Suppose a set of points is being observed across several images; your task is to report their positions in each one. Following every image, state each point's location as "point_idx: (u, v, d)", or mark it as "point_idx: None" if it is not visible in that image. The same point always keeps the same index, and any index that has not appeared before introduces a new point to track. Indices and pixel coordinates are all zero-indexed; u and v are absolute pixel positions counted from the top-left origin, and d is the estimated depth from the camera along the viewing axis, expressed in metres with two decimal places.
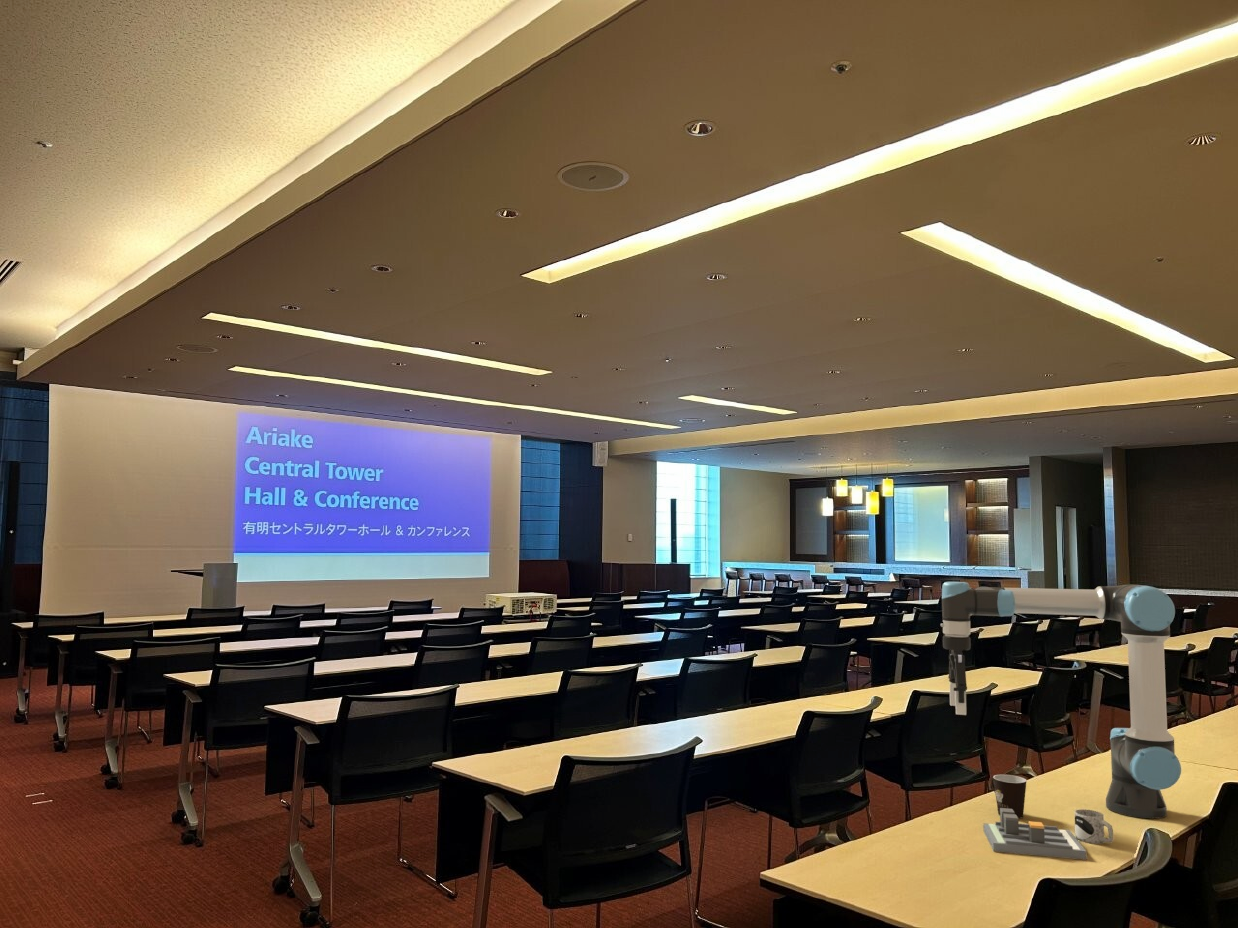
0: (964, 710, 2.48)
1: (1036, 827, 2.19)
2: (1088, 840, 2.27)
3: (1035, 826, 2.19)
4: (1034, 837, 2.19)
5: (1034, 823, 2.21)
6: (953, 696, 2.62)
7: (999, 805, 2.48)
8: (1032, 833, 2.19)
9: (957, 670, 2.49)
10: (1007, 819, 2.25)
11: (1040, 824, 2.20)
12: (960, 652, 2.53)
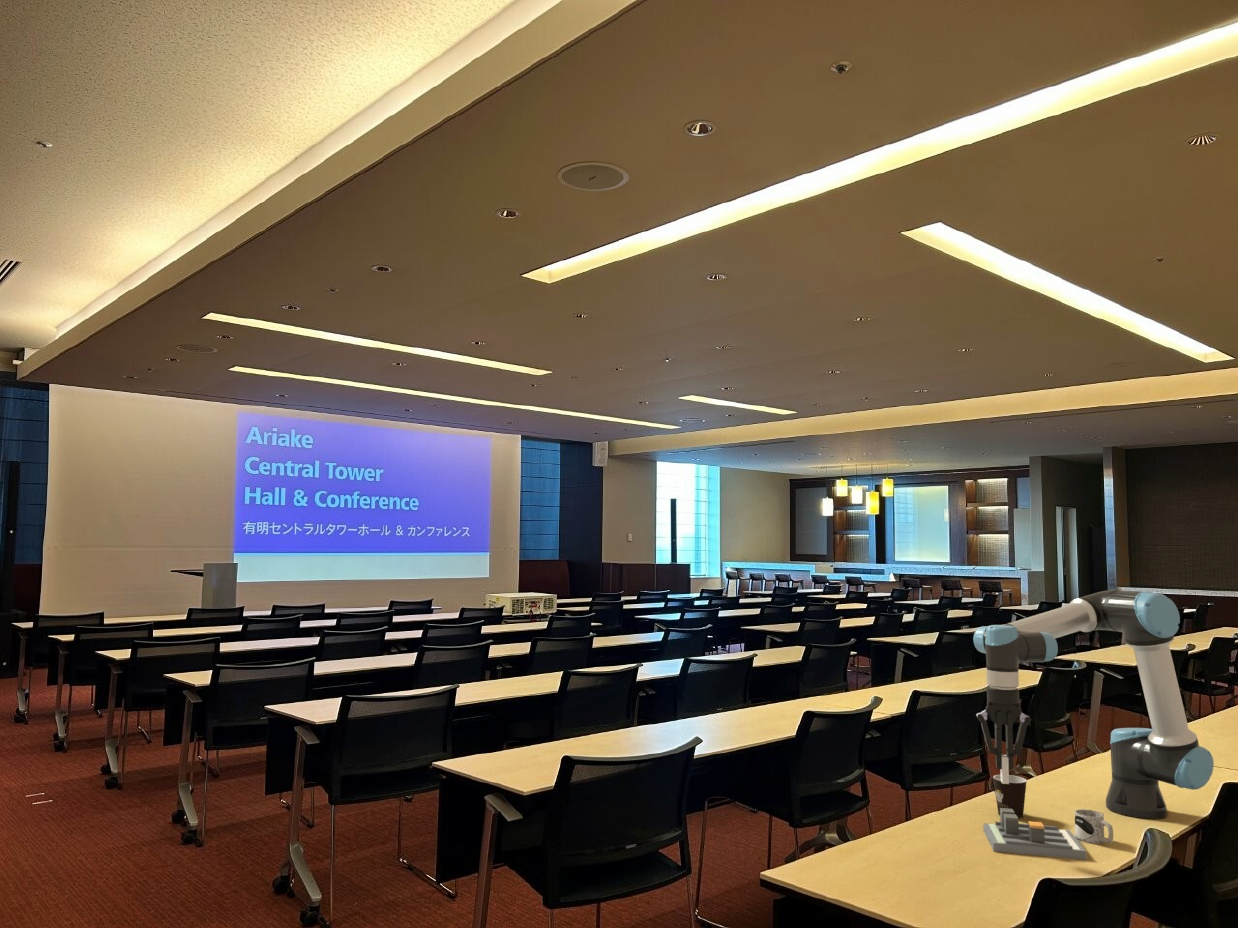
0: (1002, 778, 2.22)
1: (1036, 827, 2.19)
2: (1088, 840, 2.27)
3: (1035, 826, 2.19)
4: (1034, 837, 2.19)
5: (1034, 823, 2.21)
6: None
7: (999, 805, 2.48)
8: (1032, 833, 2.19)
9: (983, 730, 2.26)
10: (1007, 819, 2.25)
11: (1040, 824, 2.20)
12: (987, 704, 2.25)
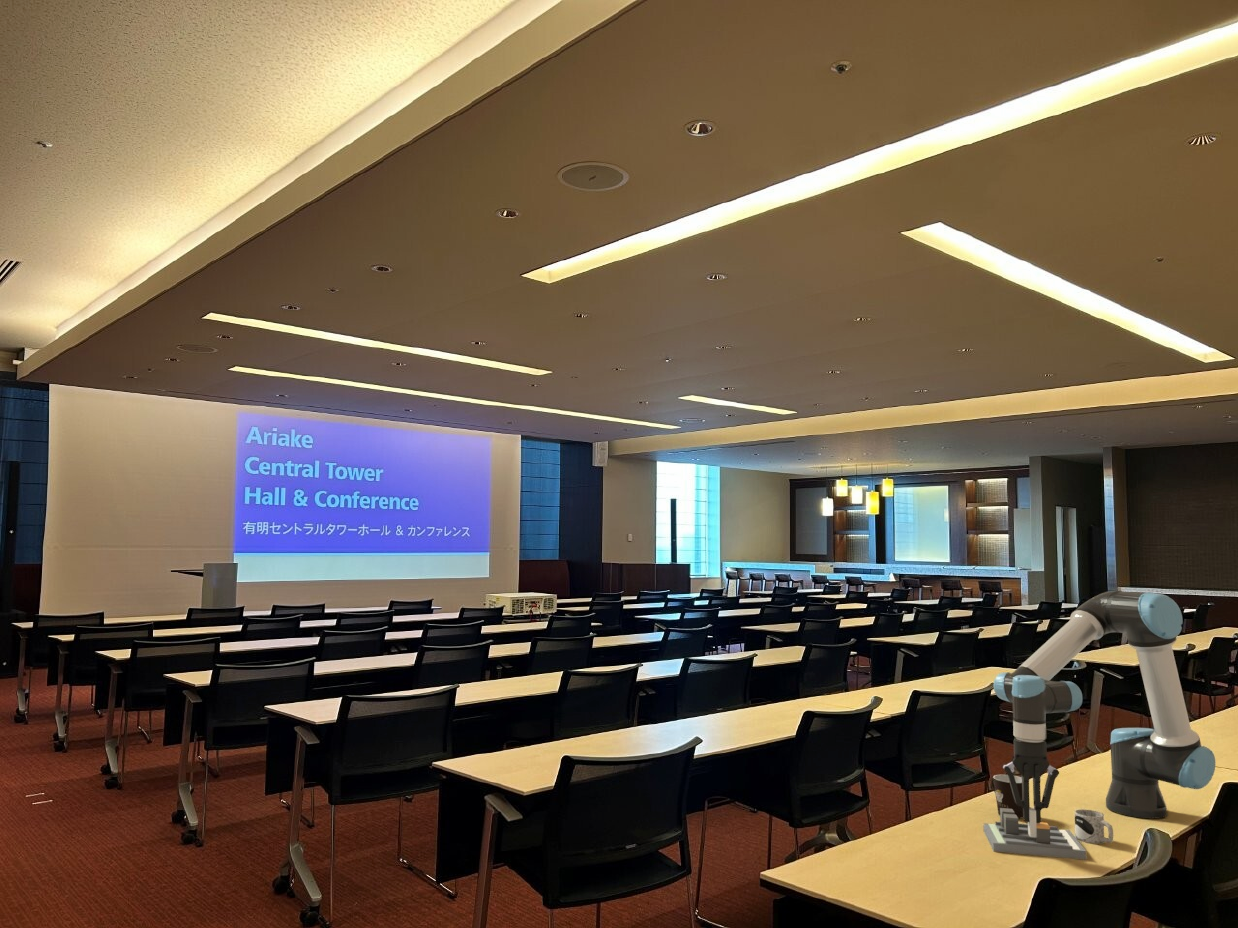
0: (1029, 831, 2.20)
1: (1042, 827, 2.19)
2: (1088, 840, 2.27)
3: (1041, 826, 2.19)
4: (1040, 837, 2.19)
5: (1040, 823, 2.20)
6: None
7: (999, 805, 2.48)
8: (1038, 833, 2.19)
9: None
10: (1007, 819, 2.25)
11: (1046, 824, 2.20)
12: (1014, 756, 2.23)
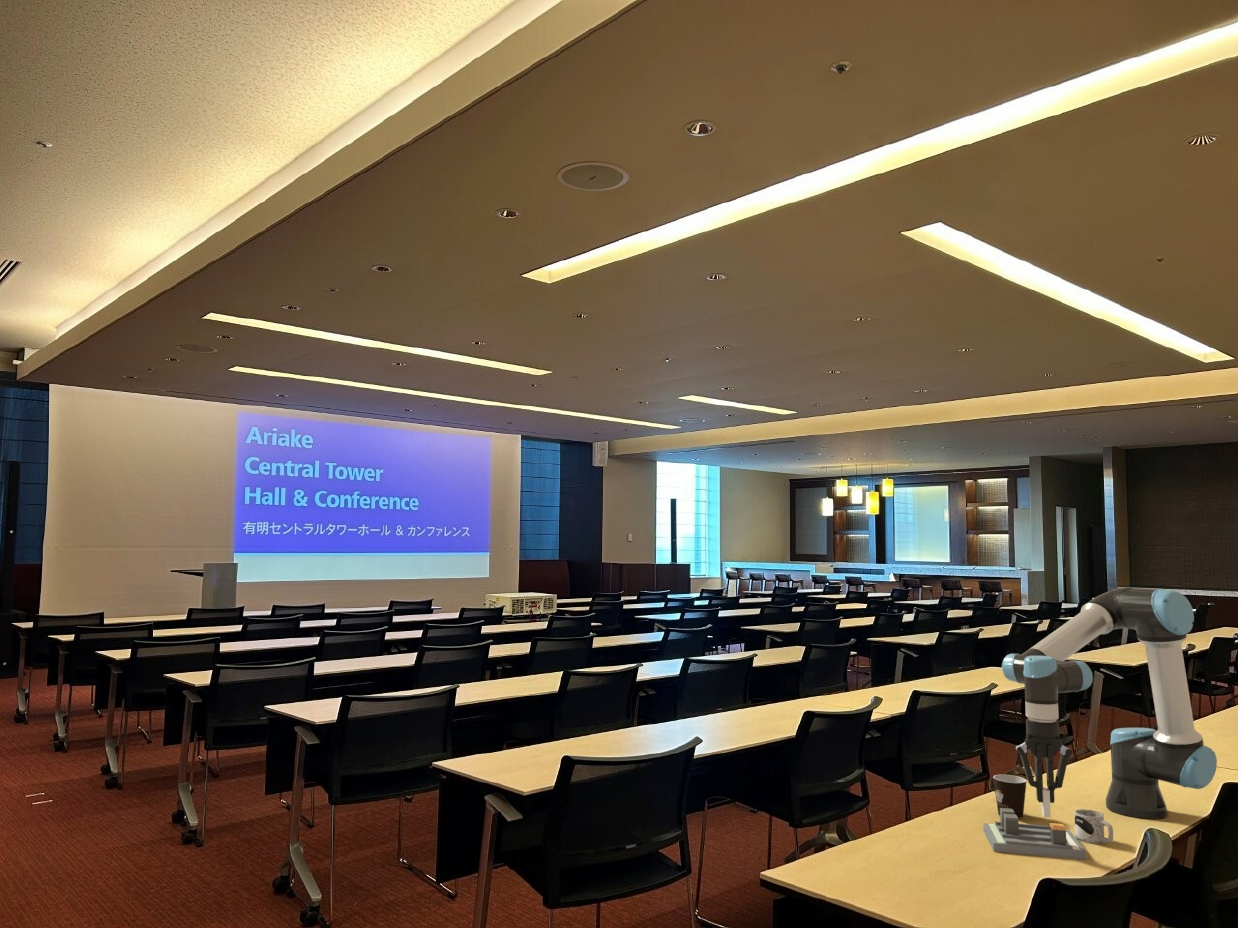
0: (1043, 811, 2.20)
1: (1058, 829, 2.18)
2: (1088, 840, 2.27)
3: (1057, 828, 2.18)
4: (1056, 839, 2.18)
5: (1056, 824, 2.20)
6: None
7: (999, 805, 2.48)
8: (1054, 835, 2.18)
9: None
10: (1007, 819, 2.25)
11: (1062, 826, 2.19)
12: (1027, 736, 2.22)
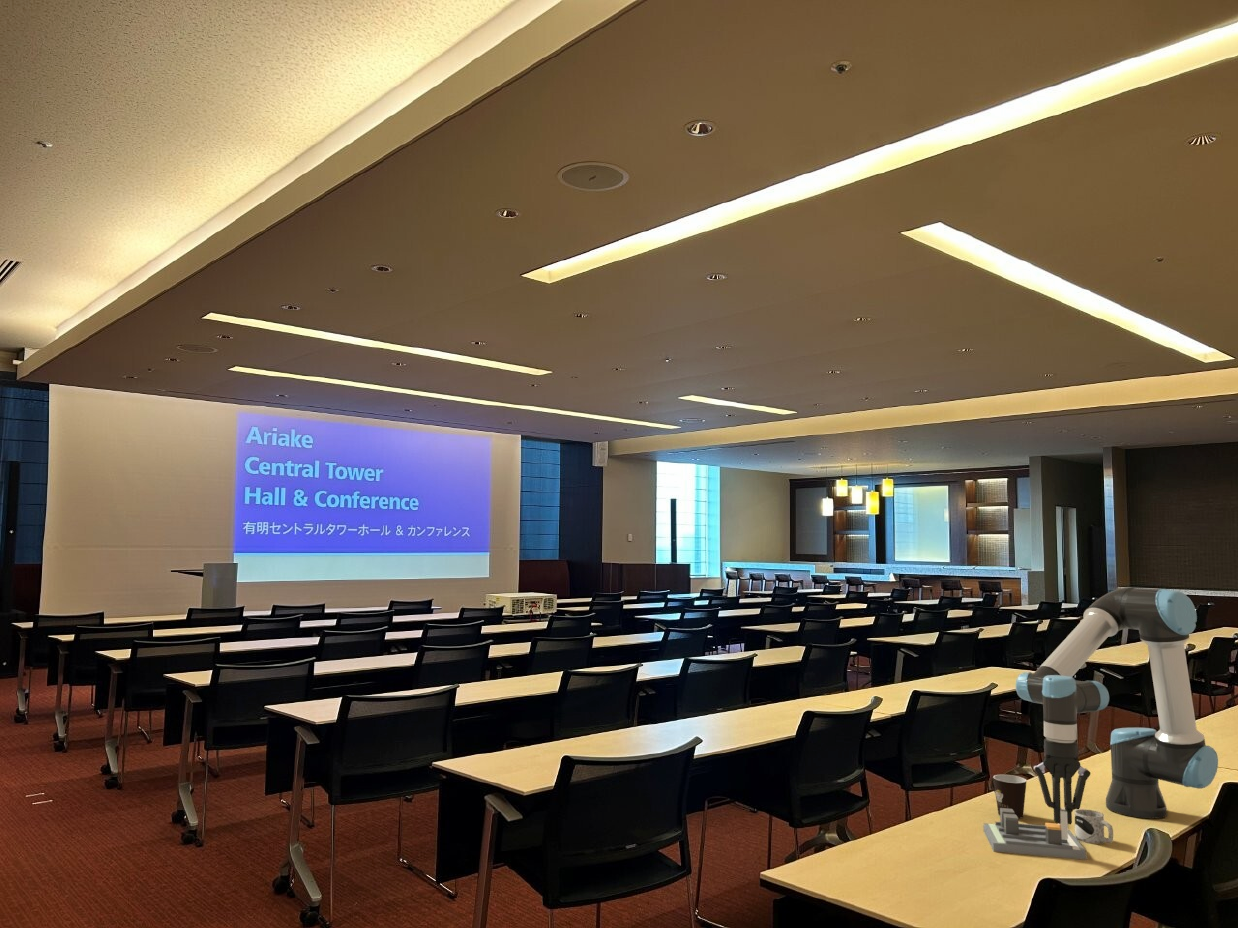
0: None
1: (1053, 828, 2.18)
2: (1088, 840, 2.27)
3: (1052, 827, 2.18)
4: (1051, 838, 2.18)
5: (1051, 824, 2.20)
6: None
7: (999, 805, 2.48)
8: (1049, 834, 2.18)
9: (1040, 783, 2.22)
10: (1007, 819, 2.25)
11: (1057, 825, 2.19)
12: (1045, 756, 2.21)
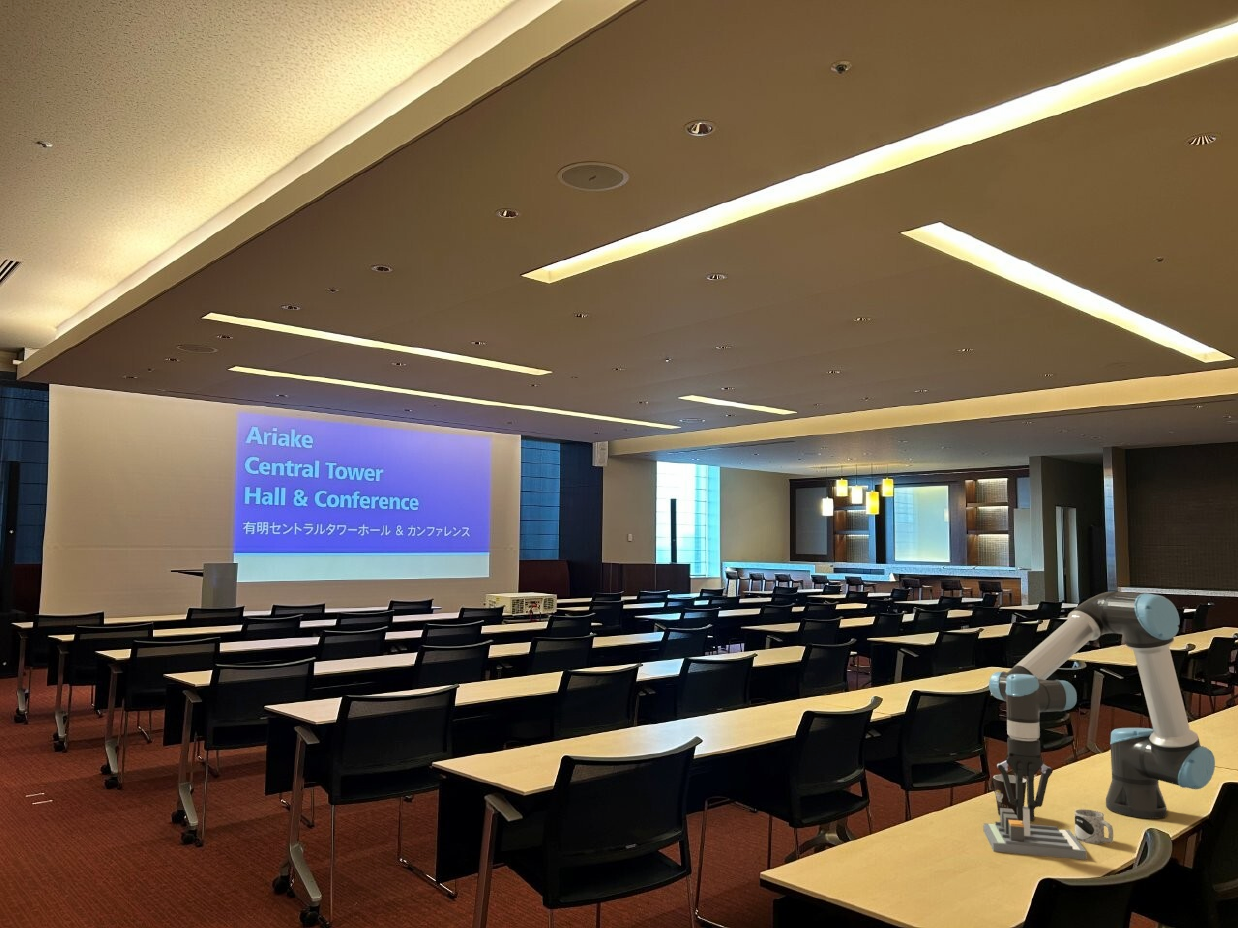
0: None
1: (1016, 825, 2.20)
2: (1088, 840, 2.27)
3: (1015, 824, 2.20)
4: (1014, 835, 2.20)
5: (1014, 821, 2.22)
6: None
7: (999, 805, 2.48)
8: (1012, 831, 2.20)
9: (1003, 781, 2.24)
10: (1007, 819, 2.25)
11: (1020, 822, 2.21)
12: (1008, 754, 2.23)
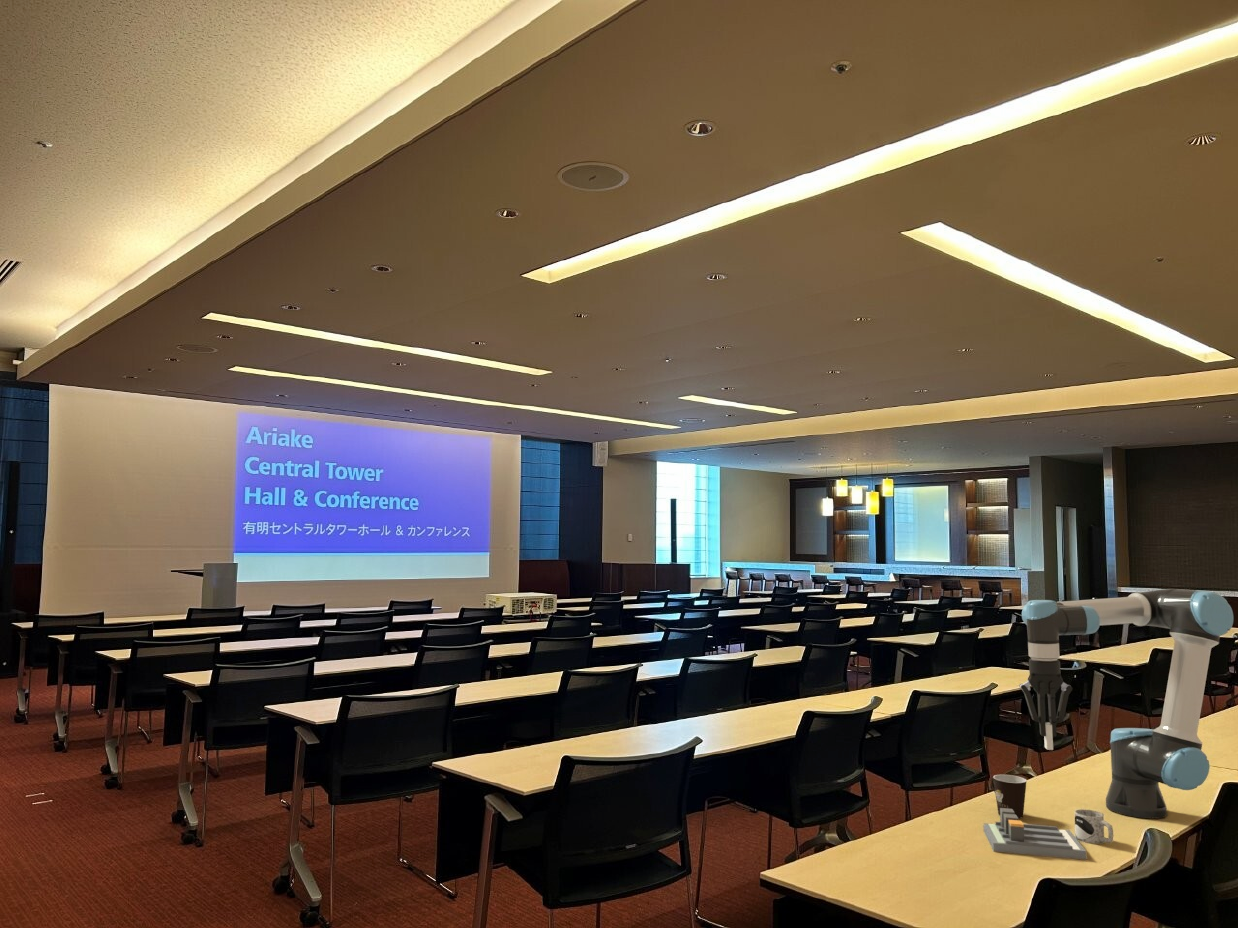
0: (1046, 744, 2.35)
1: (1016, 825, 2.20)
2: (1088, 840, 2.27)
3: (1015, 824, 2.20)
4: (1014, 835, 2.20)
5: (1014, 821, 2.22)
6: None
7: (999, 805, 2.48)
8: (1012, 831, 2.20)
9: (1026, 700, 2.38)
10: (1007, 819, 2.25)
11: (1020, 822, 2.21)
12: (1030, 675, 2.37)
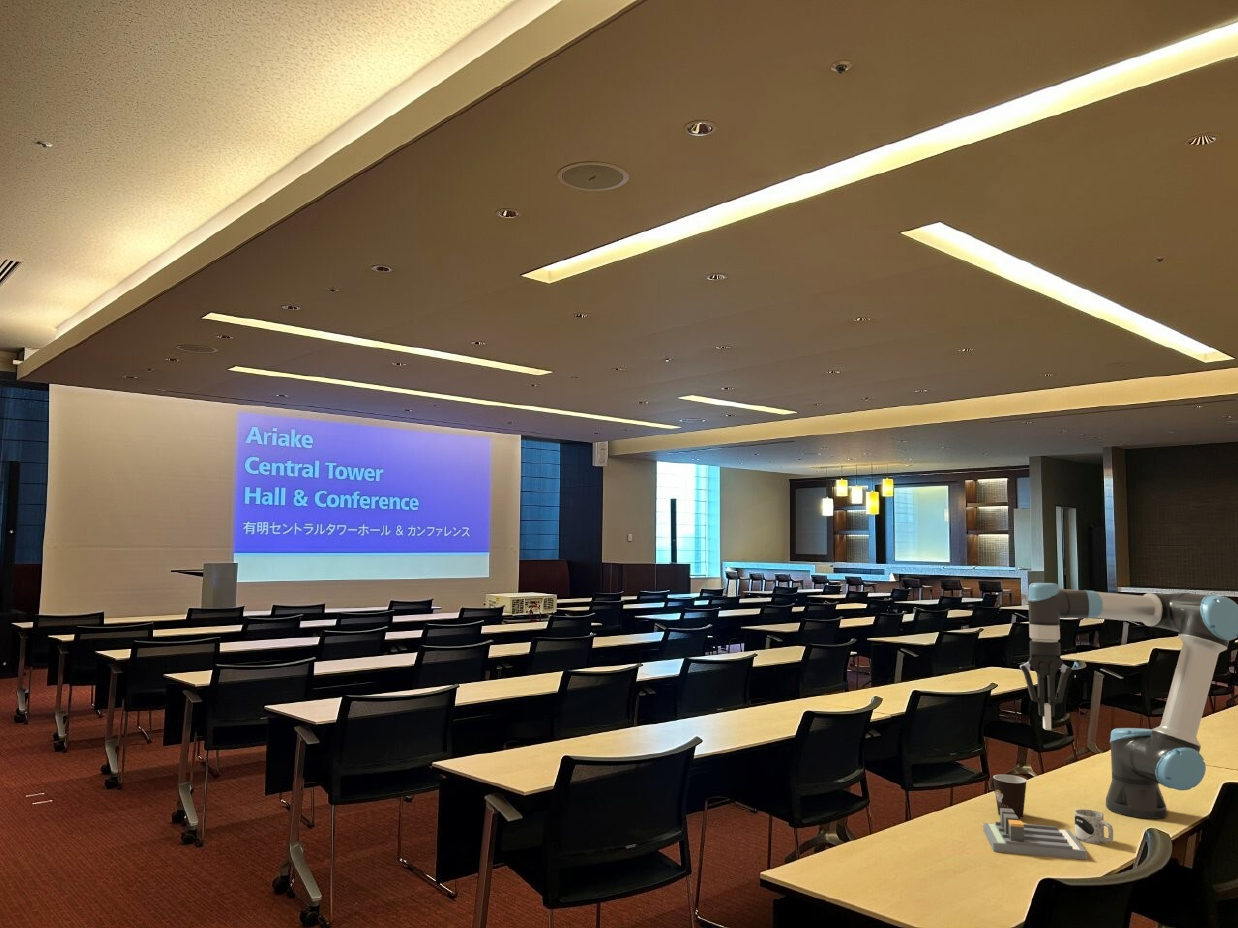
0: (1044, 724, 2.38)
1: (1016, 825, 2.20)
2: (1088, 840, 2.27)
3: (1015, 824, 2.20)
4: (1014, 835, 2.20)
5: (1014, 821, 2.22)
6: None
7: (999, 805, 2.48)
8: (1012, 831, 2.20)
9: (1026, 681, 2.42)
10: (1007, 819, 2.25)
11: (1020, 822, 2.21)
12: (1030, 656, 2.41)
